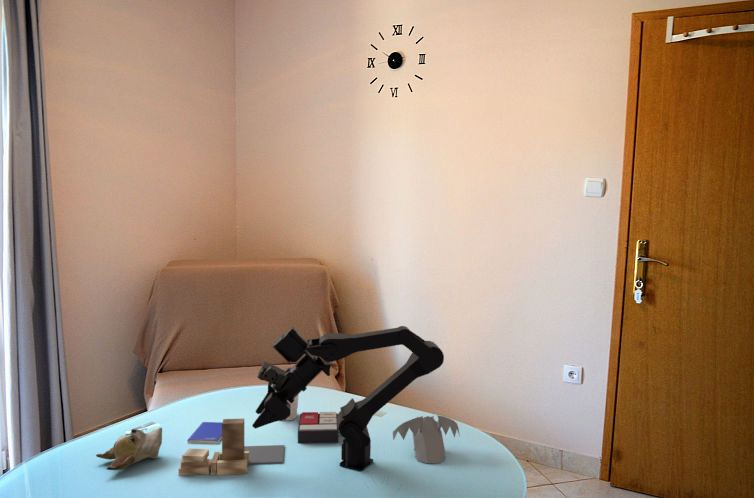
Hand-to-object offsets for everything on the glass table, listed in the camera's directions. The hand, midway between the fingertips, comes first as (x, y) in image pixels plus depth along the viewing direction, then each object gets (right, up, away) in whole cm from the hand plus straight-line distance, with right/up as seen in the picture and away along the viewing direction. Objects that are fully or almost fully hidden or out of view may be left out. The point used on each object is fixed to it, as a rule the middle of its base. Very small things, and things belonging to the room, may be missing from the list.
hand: (255, 419), depth 145 cm
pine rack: (-5, -12, 0) cm, 13 cm away
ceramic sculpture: (-31, -12, +3) cm, 33 cm away
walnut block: (-5, -12, 0) cm, 13 cm away
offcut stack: (-14, -12, -1) cm, 19 cm away
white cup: (+2, -9, +35) cm, 36 cm away
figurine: (+43, -12, +11) cm, 46 cm away
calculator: (+13, -11, +24) cm, 29 cm away
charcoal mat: (0, -12, +8) cm, 14 cm away
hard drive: (-17, -11, +21) cm, 29 cm away
